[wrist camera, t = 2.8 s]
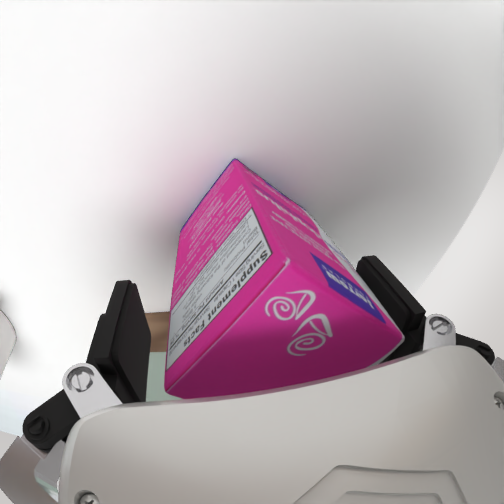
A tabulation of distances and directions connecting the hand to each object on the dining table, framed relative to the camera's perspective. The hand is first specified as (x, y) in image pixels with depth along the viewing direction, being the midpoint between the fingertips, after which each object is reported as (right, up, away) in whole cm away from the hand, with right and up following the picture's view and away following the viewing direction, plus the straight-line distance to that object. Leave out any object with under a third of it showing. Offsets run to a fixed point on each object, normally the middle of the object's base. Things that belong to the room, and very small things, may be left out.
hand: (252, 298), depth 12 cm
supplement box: (-1, +4, +6) cm, 7 cm away
